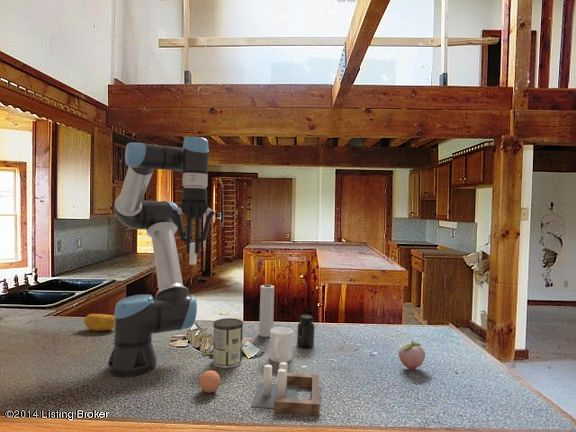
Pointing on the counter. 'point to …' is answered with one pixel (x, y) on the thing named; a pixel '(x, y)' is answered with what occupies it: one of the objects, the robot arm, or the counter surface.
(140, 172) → the robot arm
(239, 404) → the counter surface
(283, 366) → the pin
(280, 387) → the pin
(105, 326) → the potato
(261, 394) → the pin deck mark
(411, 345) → the decorative fruit
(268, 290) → the paper towel roll
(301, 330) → the supplement bottle
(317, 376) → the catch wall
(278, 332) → the mug
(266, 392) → the front pin
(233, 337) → the coffee can
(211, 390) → the ball
